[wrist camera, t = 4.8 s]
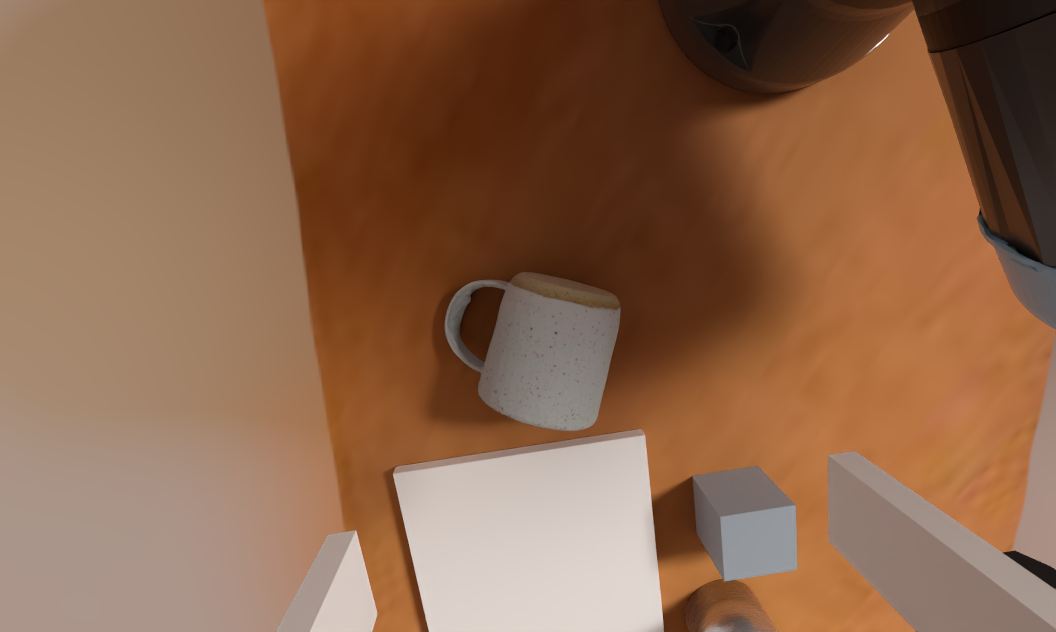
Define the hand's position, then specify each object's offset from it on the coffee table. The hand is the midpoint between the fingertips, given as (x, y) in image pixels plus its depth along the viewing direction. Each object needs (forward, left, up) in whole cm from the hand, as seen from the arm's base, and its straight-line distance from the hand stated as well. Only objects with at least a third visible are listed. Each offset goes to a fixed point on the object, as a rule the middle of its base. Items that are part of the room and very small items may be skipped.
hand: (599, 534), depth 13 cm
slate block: (-12, +15, -21) cm, 28 cm away
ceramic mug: (+1, -1, -21) cm, 21 cm away
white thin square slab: (+3, +17, -21) cm, 27 cm away
